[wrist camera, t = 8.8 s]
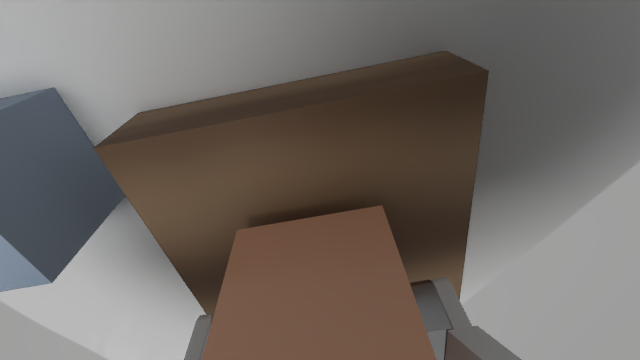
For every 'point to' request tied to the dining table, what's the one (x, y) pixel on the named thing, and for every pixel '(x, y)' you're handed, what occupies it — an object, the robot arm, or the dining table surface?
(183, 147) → the pedestal
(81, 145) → the blue block
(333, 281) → the terracotta block
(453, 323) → the robot arm
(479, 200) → the dining table surface
